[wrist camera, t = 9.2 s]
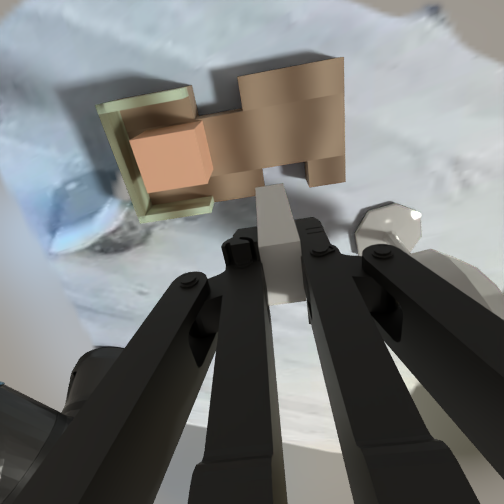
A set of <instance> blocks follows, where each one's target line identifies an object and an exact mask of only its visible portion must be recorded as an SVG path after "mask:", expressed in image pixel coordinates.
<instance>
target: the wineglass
mask: <svg viewBox="0 0 504 504" xmlns="http://www.w3.org/2000/svg"><path fill="white" fill-rule="evenodd" d="M421 237H422V233H421V213H420V212H418V211H415V210H413V209H410V208H407V207H405V206H402V205H399V204H397V203H394V204H390V205H387V206H383V207H380V208H376V209H372V210H369V211H368V212H367V213H366V215H365V217H364V218H363V220H362V222H361V223H360V225H359V227H358V228H357V230H356V232H355V238H356V244H357V250H358V255H359V256H362V251H363V250H364V249H365V248H366V247H368V246H370V245H375V244H388V245H393V246H395V247H398V248H400V249H401V250H403V251H404V252H405V253H407V254H408V255H410V256H411V257H413V258H414V259H416V260H417V261H419V262H420V263H421V264H423V265H424V266H426V267H427V268H429V269H430V270H432V271H433V272H435V273H436V274H437V275H439V276H440V277H442V278H443V279H445V280H446V281H448V282H449V283H451V284H452V285H453V286H455V287H456V288H458V289H459V290H461V291H462V292H464V293H465V294H467V295H468V296H469V297H471V298H472V299H474V300H475V301H477V302H478V303H480V304H481V305H483V306H484V307H485V308H487V309H488V310H490V311H491V312H493V313H494V314H496V315H497V316H499V317H500V318H501V319H503V320H504V295H503V293H502V292H501V291H500V289H499V288H498V287H497V285H496V284H495V283H493V282H492V281H491V280H490V279H489V278H488V277H487V276H486V275H485V274H483V273H482V272H481V271H480V270H479V269H478V268H477V267H474V266H472V265H470V264H468V263H466V262H464V261H462V260H459V259H457V258H455V257H453V256H450V255H447V254H445V253H442V252H439V251H436V250H433V249H428V250H424V251H420V252H416V253H412V254H411V253H410V252H411V251H412V249H413V248H414V246H415V245H416V244H417V242H418V241H419V240H420V238H421Z"/></svg>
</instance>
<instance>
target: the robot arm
mask: <svg viewBox="0 0 504 504" xmlns="http://www.w3.org/2000/svg"><path fill="white" fill-rule="evenodd" d="M255 190H256V210H257V227H250V228H244V229H238V230H237V231H236V232H235V234H234V235H233V238H230V239H228V240H227V241H225V242H224V243H223V244H222V246H221V248H222V252H223V256H224V260H225V264H226V270H225V271H224V272H223V273H221V274H219V275H217V276H214V277H212V278H209V279H207V277H206V275H205V274H204V273H202V272H188V273H185V274H182V275H181V276H179V277H177V278H176V279H175V280H174V281H173V282H172V283H171V285H170V286H169V288H168V289H167V290H166V292H165V293H164V294H163V296H162V297H161V299H160V300H159V301H158V303H157V304H156V305H155V307H154V308H153V310H152V311H151V312H150V314H149V315H148V317H147V318H146V319H145V321H144V322H143V323H142V325H141V326H140V328H139V329H138V330H137V332H136V333H135V334H134V336H133V337H132V339H131V340H130V341H129V343H128V344H127V346H126V347H125V348H124V349H122V348H114V347H105V348H98V349H94V350H91V351H89V352H87V353H85V354H84V355H83V356H82V357H81V358H80V359H79V361H78V362H77V364H76V366H75V367H74V369H73V371H72V373H71V377H70V383H69V387H68V393H67V398H66V403H65V407H64V409H63V411H62V412H61V413H60V412H58V411H56V410H54V409H52V408H50V407H48V406H46V405H44V404H42V403H40V402H38V401H36V400H34V399H32V398H30V397H28V396H26V395H24V394H22V393H20V392H18V391H16V390H14V389H12V388H10V387H8V386H6V385H4V384H5V383H4V382H0V504H153V503H154V500H155V498H156V495H157V493H158V490H159V488H160V485H161V483H162V481H163V478H164V476H165V473H166V471H167V468H168V466H169V463H170V461H171V458H172V456H173V454H174V451H175V449H176V446H177V444H178V442H179V439H180V437H181V434H182V432H183V429H184V427H185V425H186V422H187V420H188V417H189V415H190V412H191V410H192V407H193V405H194V403H195V400H196V398H197V395H198V393H199V390H200V388H201V386H202V383H203V381H204V378H205V376H206V373H207V371H208V368H209V366H210V364H211V361H212V359H213V356H214V354H215V351H216V356H215V365H214V374H213V382H212V391H211V400H210V408H209V417H208V426H207V435H206V443H205V451H204V457H203V460H202V462H200V463H199V464H197V465H196V467H195V469H194V471H193V475H192V480H191V485H190V491H189V498H188V504H288V503H287V492H286V481H285V470H284V460H283V448H282V437H281V426H280V415H279V404H278V392H277V381H276V370H275V359H274V348H273V337H272V326H271V315H270V309H269V306H271V305H279V304H286V303H294V302H301V301H306V298H307V308H308V318H309V324H311V325H312V330H313V334H314V338H315V342H316V346H317V350H318V355H319V359H320V363H321V367H322V371H323V375H324V380H325V384H326V388H327V392H328V396H329V400H330V405H331V409H332V413H333V417H334V421H335V425H336V430H337V434H338V438H339V442H340V446H341V450H342V454H343V459H344V462H345V467H346V471H347V475H348V480H349V484H350V488H351V492H352V496H353V500H354V504H480V502H479V501H478V499H477V497H476V495H475V493H474V491H473V489H472V487H471V485H470V484H469V482H468V480H467V478H466V476H465V474H464V472H463V471H462V469H461V467H460V465H459V463H458V461H457V459H456V458H455V456H454V455H453V453H452V451H451V450H450V448H449V447H448V446H447V445H446V444H445V443H444V442H443V441H441V440H437V439H434V438H433V437H432V436H431V435H430V433H429V431H428V429H427V428H426V426H425V424H424V422H423V420H422V418H421V416H420V414H419V411H418V409H417V407H416V405H415V403H414V401H413V399H412V397H411V395H410V393H409V391H408V389H407V387H406V385H405V383H404V381H403V379H402V377H401V375H400V373H399V371H398V369H397V367H396V365H395V363H394V361H393V359H392V357H391V355H390V353H389V351H388V349H387V347H386V345H385V343H386V344H387V345H388V346H389V347H390V348H391V349H392V351H393V352H394V353H395V354H396V355H397V356H398V358H399V359H400V360H401V361H402V362H403V363H404V365H405V366H406V367H407V368H408V369H409V370H410V371H411V373H412V374H413V375H414V376H415V377H416V378H417V380H418V381H419V382H420V383H421V384H422V385H423V387H424V388H425V389H426V390H427V391H428V392H429V393H430V395H431V396H432V397H433V398H434V399H435V400H436V401H437V403H438V404H439V405H440V406H441V407H442V409H444V411H445V412H446V413H447V414H448V415H449V417H450V418H451V419H452V420H453V421H454V422H455V423H456V425H457V426H458V427H459V428H460V429H461V431H462V432H463V433H464V434H465V435H466V436H467V437H468V439H469V440H470V441H471V442H472V443H473V444H474V446H475V447H476V448H477V449H478V450H479V451H480V453H481V454H482V455H483V456H484V457H485V458H486V460H487V461H488V462H489V463H490V464H491V465H492V466H493V468H494V469H495V470H496V471H497V472H498V473H499V475H500V476H501V477H502V478H503V479H504V320H503V319H501V318H500V317H499V316H497V315H496V314H494V313H493V312H491V311H490V310H488V309H487V308H485V307H484V306H483V305H481V304H480V303H478V302H477V301H475V300H474V299H472V298H471V297H469V296H468V295H467V294H465V293H464V292H462V291H461V290H459V289H458V288H456V287H455V286H453V285H452V284H451V283H449V282H448V281H446V280H445V279H443V278H442V277H440V276H439V275H437V274H436V273H435V272H433V271H432V270H430V269H429V268H427V267H426V266H424V265H423V264H421V263H420V262H419V261H417V260H416V259H414V258H413V257H411V256H410V255H408V254H407V253H405V252H404V251H403V250H401V249H400V248H398V247H395V246H393V245H388V244H375V245H370V246H368V247H366V248H365V249H364V250H363V251H362V256H350V255H344V254H341V253H340V251H339V249H338V248H337V247H336V246H334V245H332V244H330V242H329V240H328V237H327V235H326V233H325V232H324V229H323V227H322V225H321V222H320V221H319V220H317V219H316V218H314V217H310V218H303V219H297V220H294V218H293V215H292V212H291V208H290V205H289V202H288V198H287V195H286V192H285V188H284V185H283V183H282V184H276V185H269V186H263V187H257V188H255ZM384 341H385V343H384Z"/></svg>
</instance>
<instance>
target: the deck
mask: <svg viewBox="0 0 504 504" xmlns="http://www.w3.org/2000/svg"><path fill="white" fill-rule="evenodd" d="M237 78H238V84H239V90H240V96H241V102H242V108H239V109H234V110H228V111H223V112H217V113H212V114H206V115H201V116H199V114H198V110H197V105H196V101H195V97H194V93H193V88H192V85H191V86H185V87H180V88H175V89H170V90H164V91H159V92H154V93H149V94H143V95H138V96H133V97H128V98H122V99H118V100H114V101H110V102H105V103H101V104H97V105H95V107H96V110H97V112H98V115H99V117H100V120H101V123H102V125H103V128H104V130H105V133H106V136H107V138H108V141H109V143H110V146H111V149H112V151H113V154H114V156H115V159H116V162H117V164H118V167H119V169H120V172H121V175H122V177H123V180H124V182H125V185H126V187H127V190H128V193H129V195H130V198H131V201H132V203H133V206H134V208H135V211H136V214H137V216H138V219H139V221H140V224H141V223H147V222H154V221H161V220H167V219H174V218H180V217H187V216H193V215H200V214H206V213H211V212H212V209H213V205H214V202H220V201H226V200H232V199H239V198H245V197H252V196H256V190H255V188H257V187H263V186H265V183H264V177H263V170H262V168H268V167H274V166H280V165H286V164H293V163H299V162H304V163H305V176H306V181H307V183H308V185H309V187H316V186H323V185H329V184H336V183H342V182H345V108H344V57H338V58H332V59H327V60H322V61H316V62H311V63H306V64H301V65H295V66H290V67H285V68H280V69H274V70H269V71H264V72H259V73H254V74H248V75H243V76H238V77H237ZM197 121H203V125H204V130H205V134H206V139H207V143H208V147H209V152H210V156H211V161H212V165H213V171H212V174H211V176H210V179H209V181H208V184H203V185H197V186H190V187H184V188H178V189H171V190H165V191H159V192H152V193H147V190H146V187H145V185H144V182H143V179H142V176H141V173H140V170H139V167H138V165H137V162H136V159H135V156H134V153H133V150H132V147H131V145H130V142H129V140H131V139H133V138H134V137H136V136H138V135H139V134H141V133H143V132H144V131H146V130H152V129H158V128H163V127H169V126H175V125H180V124H186V123H191V122H197Z"/></svg>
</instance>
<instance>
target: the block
mask: <svg viewBox="0 0 504 504" xmlns="http://www.w3.org/2000/svg"><path fill="white" fill-rule="evenodd" d="M129 142H130V145H131V147H132V150H133V153H134V156H135V159H136V162H137V165H138V167H139V170H140V173H141V176H142V179H143V182H144V185H145V187H146V190H147V193H152V192H159V191H165V190H171V189H178V188H184V187H190V186H197V185H203V184H208V181H209V179H210V176H211V174H212V171H213V165H212V161H211V156H210V152H209V147H208V143H207V139H206V134H205V130H204V125H203V121H197V122H191V123H186V124H180V125H175V126H169V127H163V128H158V129H152V130H146V131H144V132H143V133H141V134H139V135H138V136H136V137H134V138H133V139H131V140H129Z"/></svg>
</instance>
